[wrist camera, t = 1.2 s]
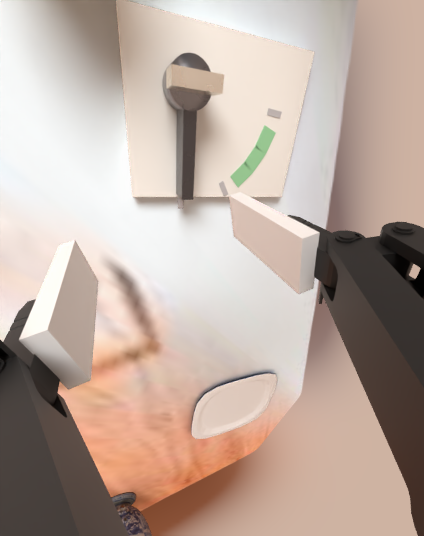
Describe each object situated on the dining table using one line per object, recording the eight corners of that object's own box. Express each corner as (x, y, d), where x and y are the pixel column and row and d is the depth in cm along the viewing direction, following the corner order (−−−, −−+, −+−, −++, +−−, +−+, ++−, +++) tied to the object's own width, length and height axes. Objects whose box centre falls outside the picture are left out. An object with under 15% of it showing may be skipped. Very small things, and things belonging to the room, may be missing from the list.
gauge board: (115, 4, 21) (116, -4, 20) (306, 55, 29) (315, 51, 28) (132, 205, 30) (133, 209, 29) (274, 203, 38) (279, 206, 37)
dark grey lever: (159, 55, 23) (171, 39, 18) (205, 65, 24) (226, 52, 20) (162, 193, 29) (171, 205, 25) (198, 193, 31) (213, 204, 27)
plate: (280, 363, 66) (284, 368, 64) (260, 414, 78) (262, 419, 76) (195, 385, 56) (197, 392, 55) (187, 439, 68) (188, 446, 67)
